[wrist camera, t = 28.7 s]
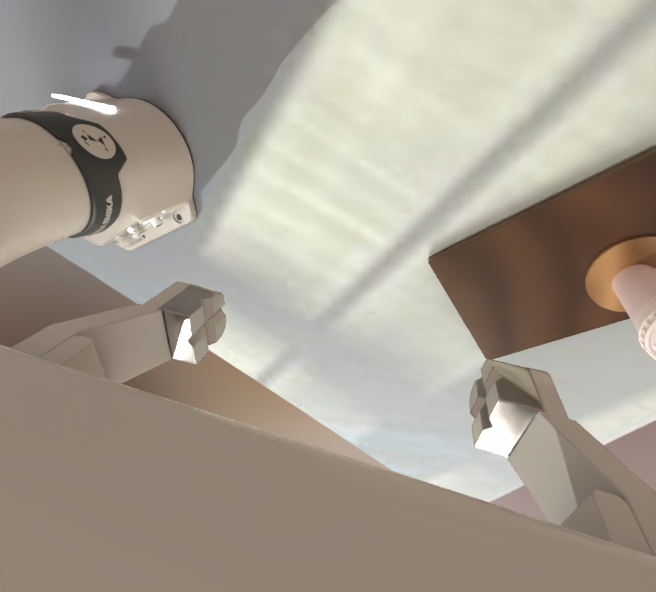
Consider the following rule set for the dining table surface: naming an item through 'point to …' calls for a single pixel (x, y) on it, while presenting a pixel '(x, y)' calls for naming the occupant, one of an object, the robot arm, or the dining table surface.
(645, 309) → the smoothie
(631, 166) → the serving board
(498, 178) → the dining table surface
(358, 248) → the dining table surface
